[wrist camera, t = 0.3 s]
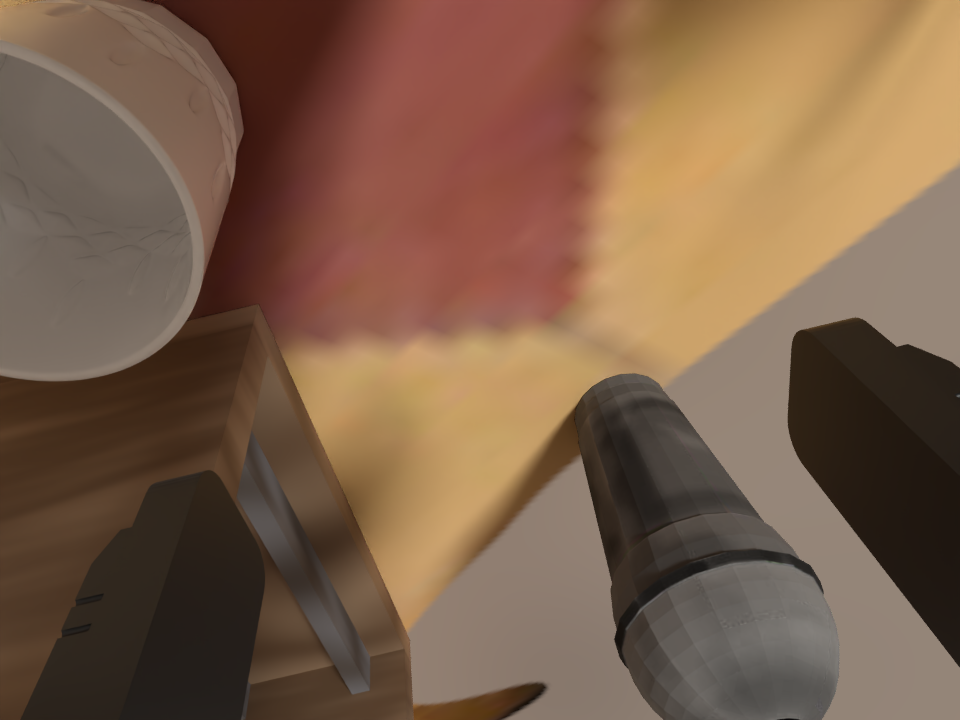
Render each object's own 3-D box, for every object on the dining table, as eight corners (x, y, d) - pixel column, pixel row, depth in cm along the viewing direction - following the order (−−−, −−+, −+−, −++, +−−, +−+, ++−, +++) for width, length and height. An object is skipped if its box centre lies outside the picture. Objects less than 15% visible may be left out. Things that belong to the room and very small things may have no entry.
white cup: (202, -58, 20) (88, -19, 12) (295, 190, 25) (258, 339, 17) (-54, 6, 20) (-337, 87, 12) (85, 241, 25) (-53, 414, 17)
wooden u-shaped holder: (-34, 373, 27) (-475, 905, 13) (258, 304, 27) (134, 764, 13) (215, 684, 41) (132, 1107, 27) (409, 639, 41) (429, 1039, 27)
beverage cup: (576, 487, 36) (747, 997, 19) (522, 390, 32) (682, 934, 15) (709, 431, 35) (1009, 921, 18) (671, 323, 30) (1015, 831, 14)
